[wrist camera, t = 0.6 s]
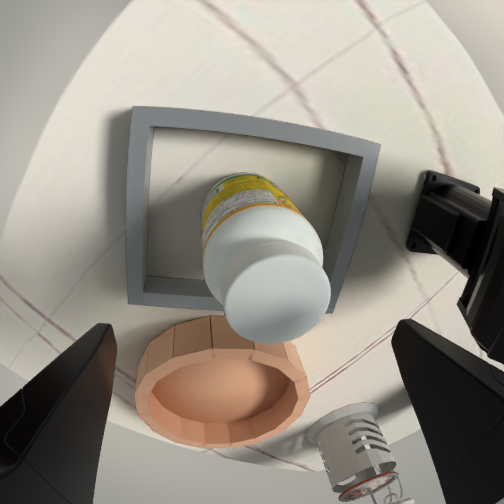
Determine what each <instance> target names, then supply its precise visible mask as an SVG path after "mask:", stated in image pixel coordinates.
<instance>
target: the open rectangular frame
mask: <svg viewBox="0 0 504 504" xmlns="http://www.w3.org/2000/svg"><path fill="white" fill-rule="evenodd" d="M154 126H161V127H176V128H188V129H199V130H209V131H218V132H227V133H235V134H243V135H250V136H257V137H264V138H270V139H277V140H283V141H289V142H294V143H300V144H305V145H311V146H316V147H321V148H326V149H331V150H335V151H340V152H345V153H349V155H348V159H347V164H346V168H345V173H344V177H343V181H342V186H341V190H340V194H339V198H338V202H337V206H336V210H335V214H334V218H333V222H332V226H331V230H330V234H329V238H328V241H327V245H326V249H325V252H324V256H323V267H322V268H323V270H324V272H325V273H326V275H327V277H328V279H329V283H330V288H331V297H330V302H329V305H328V308H327V310H326V312H325V313H333V311H334V308H335V305H336V302H337V299H338V296H339V293H340V291H341V288H342V285H343V281H344V278H345V275H346V272H347V269H348V266H349V263H350V260H351V256H352V253H353V250H354V247H355V243H356V240H357V236H358V233H359V230H360V226H361V223H362V219H363V215H364V212H365V208H366V204H367V201H368V197H369V193H370V189H371V185H372V181H373V177H374V173H375V169H376V165H377V160H378V156H379V151H380V147H381V144H378V143H374V142H371V141H368V140H364V139H361V138H357V137H353V136H349V135H345V134H341V133H336V132H332V131H328V130H323V129H318V128H314V127H309V126H304V125H299V124H294V123H289V122H283V121H277V120H272V119H265V118H259V117H253V116H246V115H239V114H231V113H223V112H214V111H205V110H195V109H183V108H169V107H152V106H133V107H132V116H131V126H130V137H129V149H128V164H127V184H126V273H127V293H128V304H134V305H145V306H158V307H171V308H185V309H202V310H220V311H224V307H223V305H222V304H221V303H220V302H219V301H218V300H217V299H216V298H215V297H214V296H213V294H212V293H211V291H210V290H209V288H208V286H207V284H206V281H205V280H193V279H179V278H165V277H152V276H147V225H148V201H149V183H150V169H151V157H152V145H153V135H154Z"/></svg>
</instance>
